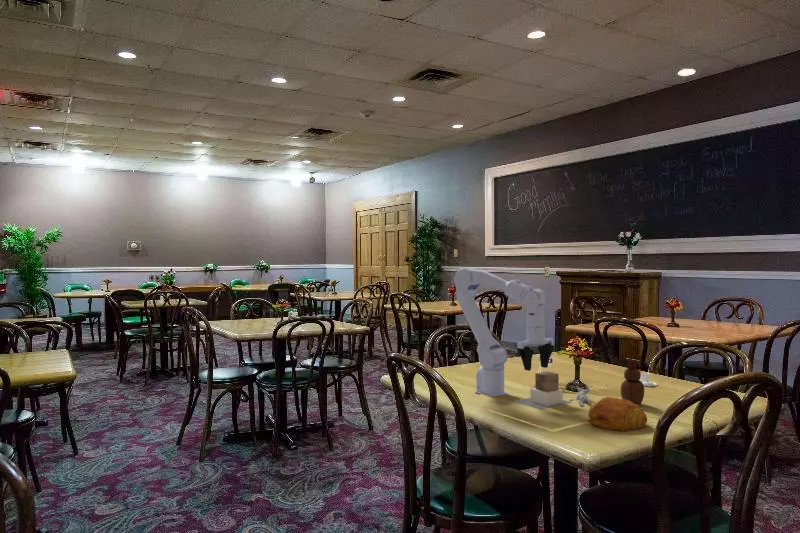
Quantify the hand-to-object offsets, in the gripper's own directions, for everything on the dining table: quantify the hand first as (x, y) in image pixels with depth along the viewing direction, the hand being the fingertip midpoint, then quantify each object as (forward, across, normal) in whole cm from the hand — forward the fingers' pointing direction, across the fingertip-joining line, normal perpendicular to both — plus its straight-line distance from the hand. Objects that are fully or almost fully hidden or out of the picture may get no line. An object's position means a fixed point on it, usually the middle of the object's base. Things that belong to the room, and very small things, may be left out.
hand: (536, 368), depth 182 cm
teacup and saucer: (+11, +46, -5) cm, 48 cm away
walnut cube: (+6, 0, -4) cm, 7 cm away
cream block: (+10, 0, -4) cm, 11 cm away
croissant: (+11, -1, -30) cm, 32 cm away
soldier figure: (+11, +9, -11) cm, 18 cm away
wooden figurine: (+11, +21, -20) cm, 31 cm away
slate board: (+10, -1, -3) cm, 11 cm away
